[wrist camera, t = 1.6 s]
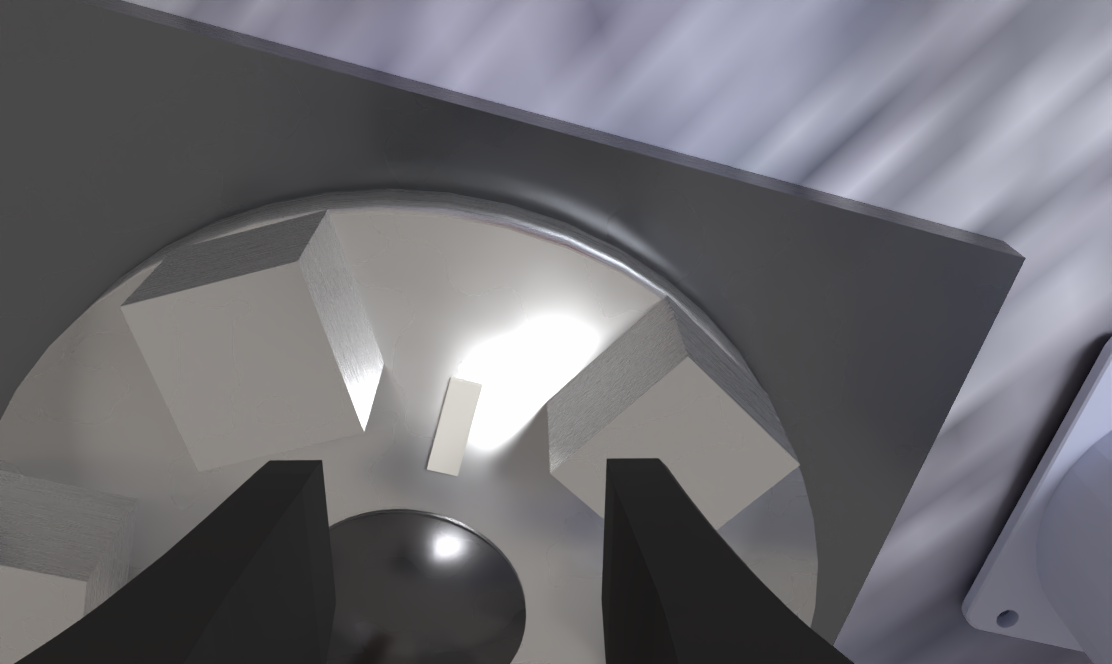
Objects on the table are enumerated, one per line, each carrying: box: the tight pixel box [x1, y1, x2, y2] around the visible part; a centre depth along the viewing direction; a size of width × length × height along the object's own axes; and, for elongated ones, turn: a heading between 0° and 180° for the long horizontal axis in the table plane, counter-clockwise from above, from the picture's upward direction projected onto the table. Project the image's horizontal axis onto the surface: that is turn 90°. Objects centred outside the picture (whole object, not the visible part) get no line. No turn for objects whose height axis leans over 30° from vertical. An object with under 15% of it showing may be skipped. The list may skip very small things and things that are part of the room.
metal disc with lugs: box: [0, 189, 818, 664], centre depth 20 cm, size 17×17×4 cm
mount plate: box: [0, 0, 1025, 646], centre depth 23 cm, size 20×20×1 cm
